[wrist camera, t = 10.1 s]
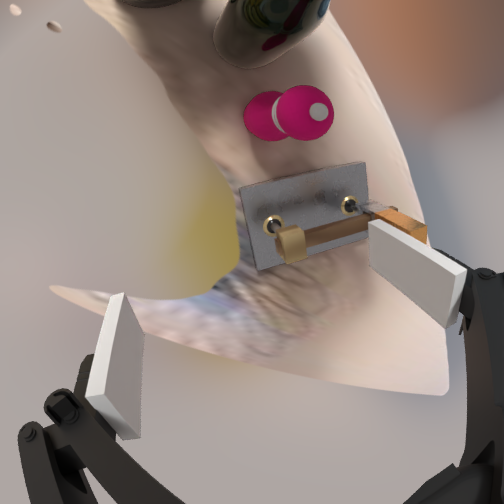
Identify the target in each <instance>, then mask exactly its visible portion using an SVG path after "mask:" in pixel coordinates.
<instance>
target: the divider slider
mask: <svg viewBox="0 0 504 504" xmlns="http://www.w3.org/2000/svg"><path fill="white" fill-rule="evenodd" d="M355 204H356V206H351V208H352V210H353V211H354V212H356V213H358V214H360V215H361V214H365V213H369V214H371V221H374V220H377V219H380V220H382V221H384V222H386V223H388V224H390V225H391V226H393V227H395V228H397V229H399V230H401V231H402V232H404V233H406V234H408V235H410V236H411V237H413V238H415V239H417V240H419V241H420V242H422V243H424V244H426V240H427V226H426V225H425V224H423V223H421V222H419V221H417V220H414V219H412V218H410V217H408V216H406V215H404V214H402V213H400V212H398V211H395V210H393V209H391V208H389V207H387V206H385V205H382V204H380V203H378V202H376V201H373V200H367V201H363V202H359V203H355ZM365 232H366V233H368V234H369V232H368V230H365Z"/></svg>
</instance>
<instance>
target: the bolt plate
mask: <svg viewBox="0 0 504 504" xmlns="http://www.w3.org/2000/svg"><path fill="white" fill-rule="evenodd" d="M239 192H240V197H241V201H242V206H243V211H244V215H245V220H246V224H247V229H248V234H249V238H250V243H251V247H252V252H253V257H254V261H255V266H256V268H257V270H258V271H260V270H263V269H266V268H270V267H273V266H276V265H280V264H283V263H285V261H284V260H283V259H282V258H281V256H280V255H279V254H278V253H277V252H276V246H275V240H274V239H275V238H277V236H276V233H275V232H274V231H273V230H272V229H271V224H272V223H277V224H278V225H279V226H280V227H281V228H284V227H287V226H291V225H295V224H296V225H297V226H298V227H300V228H301V229H302V230H307V229H310V228H314V227H318V226H321V225H325V224H328V223H332V222H336V221H339V220H343V219H346V218H350V217H354V216H357V215H360V214H358V213H356V212H354V211H353V210H352V208H351V206H356V204H355V203H359V202H363V201H367V200H368V186H367V174H366V164H365V162H362V161H360V162H354V163H349V164H344V165H339V166H333V167H328V168H324V169H319V170H314V171H309V172H305V173H300V174H295V175H291V176H286V177H282V178H278V179H273V180H269V181H265V182H261V183H256V184H252V185H248V186H244V187H240V188H239ZM368 237H369V234H368V233H366V232H365V231H362V232H359V233H355V234H352V235H349V236H345V237H342V238H339V239H335V240H332V241H329V242H325V243H322V244H319V245H315V246H312V247H309V248H306V250H307V256H310V255H313V254H316V253H320V252H323V251H326V250H329V249H333V248H336V247H339V246H342V245H345V244H349V243H352V242H355V241H358V240H361V239H365V238H368Z"/></svg>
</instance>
